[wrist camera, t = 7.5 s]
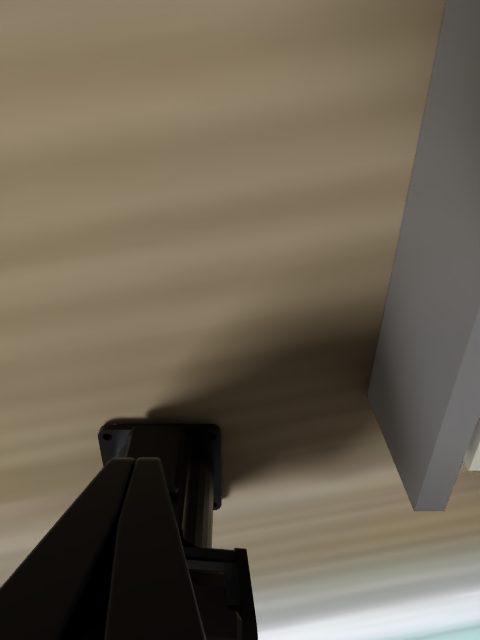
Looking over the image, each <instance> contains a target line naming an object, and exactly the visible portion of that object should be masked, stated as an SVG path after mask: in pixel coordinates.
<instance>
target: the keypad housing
mask: <svg viewBox="0 0 480 640" xmlns="http://www.w3.org/2000/svg"><path fill="white" fill-rule="evenodd" d="M367 397H368V399H369V402H370V404H371V407H372V409H373V412H374V414H375V416H376V419H377V421H378V424H379V426H380V429H381V431H382V434H383V436H384V438H385V441H386V443H387V446H388V448H389V451H390V453H391V456H392V458H393V461H394V463H395V465H396V468H397V470H398V473H399V475H400V478H401V480H402V483H403V485H404V488H405V490H406V492H407V495H408V497H409V500H410V502H411V505H412V507H413V510H414V511H445V508H446V505H447V503H448V500H449V497H450V494H451V492H452V489H453V486H454V484H455V481H456V478H457V476H458V473H459V470H460V467H461V465H462V462H463V461H464V463H465V465H466V467H467V468H468V470H469V471H480V0H447V1H446V6H445V11H444V16H443V21H442V26H441V31H440V36H439V41H438V46H437V51H436V56H435V61H434V66H433V71H432V76H431V81H430V86H429V91H428V96H427V101H426V106H425V111H424V116H423V121H422V126H421V131H420V136H419V141H418V146H417V151H416V156H415V160H414V165H413V170H412V175H411V180H410V185H409V190H408V195H407V200H406V205H405V210H404V215H403V220H402V225H401V230H400V235H399V240H398V245H397V250H396V255H395V260H394V265H393V270H392V275H391V280H390V285H389V290H388V295H387V300H386V305H385V310H384V315H383V320H382V325H381V329H380V334H379V339H378V344H377V349H376V354H375V359H374V364H373V369H372V374H371V379H370V384H369V389H368V394H367Z"/></svg>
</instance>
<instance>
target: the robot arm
mask: <svg viewBox="0 0 480 640" xmlns="http://www.w3.org/2000/svg"><path fill="white" fill-rule="evenodd" d="M106 433H108V434H111V435H107V434H106ZM209 433H214V434H213V435H211V434H209ZM98 440H99V445H100V450H101V456H102V461H103V466H104V467H103V468H102V470H101V471H100V472H99V473H98V474H97V475H96V477H95V478H94V479H93V480H92V481H91V482H90V484H89V485H88V486H87V487H86V488H85V489H84V491H83V492H82V493H81V494H80V495H79V497H78V498H77V499H76V500H75V501H74V502H73V504H72V505H71V506H70V507H69V508H68V509H67V511H66V512H65V513H64V514H63V515H62V516H61V518H60V519H59V520H58V521H57V522H56V523H55V525H54V526H53V527H52V528H51V529H50V531H49V532H48V533H47V534H46V535H45V536H44V538H43V539H42V540H41V541H40V542H39V543H38V545H37V546H36V547H35V548H34V549H33V550H32V552H31V553H30V554H29V555H28V556H27V557H26V559H25V560H24V561H23V562H22V563H21V565H20V566H19V567H18V568H17V569H16V570H15V572H14V573H13V574H12V575H11V576H10V577H9V579H8V580H7V581H6V582H5V583H4V584H3V586H2V587H1V588H0V640H258V634H257V623H256V616H255V608H254V601H253V594H252V586H251V579H250V572H249V565H248V557H247V550H246V549H242V548H234V550H227V549H214V548H212V523H213V510H217V509H219V508H220V507H221V429H220V427H219V426H217V425H214V424H118V425H104V426H102V427H101V428H100V430H99V433H98Z"/></svg>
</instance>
